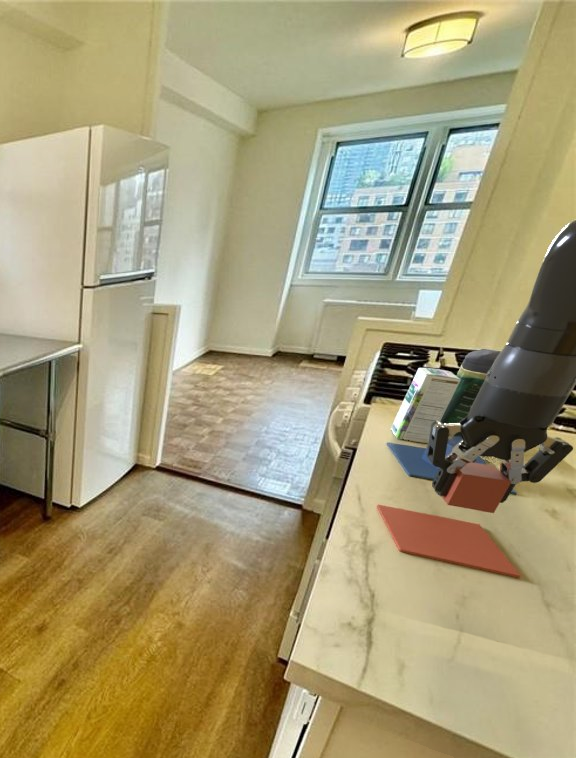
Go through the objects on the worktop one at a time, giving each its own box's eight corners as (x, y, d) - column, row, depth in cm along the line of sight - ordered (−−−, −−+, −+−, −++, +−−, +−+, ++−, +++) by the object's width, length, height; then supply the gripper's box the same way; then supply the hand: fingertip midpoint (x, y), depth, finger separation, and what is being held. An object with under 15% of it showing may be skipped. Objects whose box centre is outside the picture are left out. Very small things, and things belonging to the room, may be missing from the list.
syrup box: (389, 429, 108) (416, 366, 101) (422, 434, 105) (452, 370, 99) (395, 439, 103) (424, 373, 97) (430, 444, 101) (463, 378, 94)
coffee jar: (477, 448, 99) (524, 360, 91) (427, 436, 104) (468, 352, 96) (478, 434, 106) (522, 351, 97) (431, 424, 111) (469, 343, 102)
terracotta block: (478, 495, 70) (494, 465, 68) (493, 513, 66) (512, 481, 63) (434, 488, 72) (449, 458, 69) (447, 505, 68) (463, 473, 65)
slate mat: (479, 458, 95) (479, 456, 95) (516, 494, 83) (517, 492, 83) (386, 443, 101) (387, 442, 101) (408, 475, 89) (409, 474, 89)
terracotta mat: (478, 526, 75) (479, 524, 75) (519, 578, 64) (521, 575, 64) (376, 506, 80) (377, 504, 79) (399, 551, 69) (400, 549, 69)
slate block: (448, 459, 94) (460, 436, 92) (469, 472, 90) (482, 448, 87) (421, 458, 94) (432, 435, 92) (441, 470, 90) (453, 446, 88)
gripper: (466, 384, 60) (410, 499, 68) (627, 402, 55) (546, 524, 63) (443, 368, 66) (394, 475, 74) (586, 383, 61) (517, 496, 69)
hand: (464, 497), depth 68 cm, fingers closed on terracotta block, 5 cm apart
